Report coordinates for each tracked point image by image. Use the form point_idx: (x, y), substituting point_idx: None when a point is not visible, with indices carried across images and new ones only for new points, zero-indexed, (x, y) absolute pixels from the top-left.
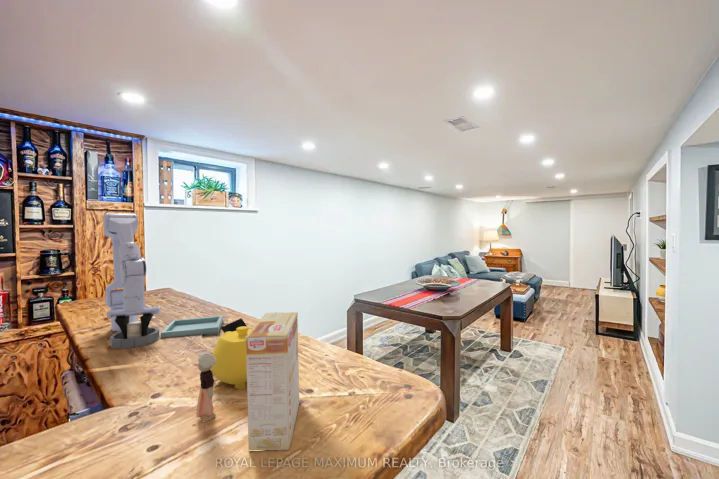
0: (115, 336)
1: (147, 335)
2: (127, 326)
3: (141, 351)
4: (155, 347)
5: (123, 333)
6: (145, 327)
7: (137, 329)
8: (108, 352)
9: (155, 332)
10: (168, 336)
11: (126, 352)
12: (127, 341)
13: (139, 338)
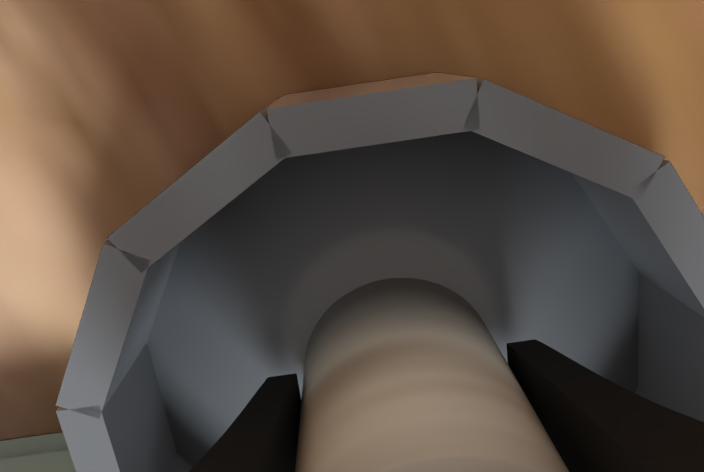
0: (693, 393)
1: (113, 270)
2: (552, 462)
3: (138, 5)
4: (25, 143)
5: (573, 368)
6: (194, 466)
7: (337, 417)
8: (602, 68)
9: (66, 412)
10: (16, 461)
11: (344, 9)
12: (371, 90)
13: (199, 162)
